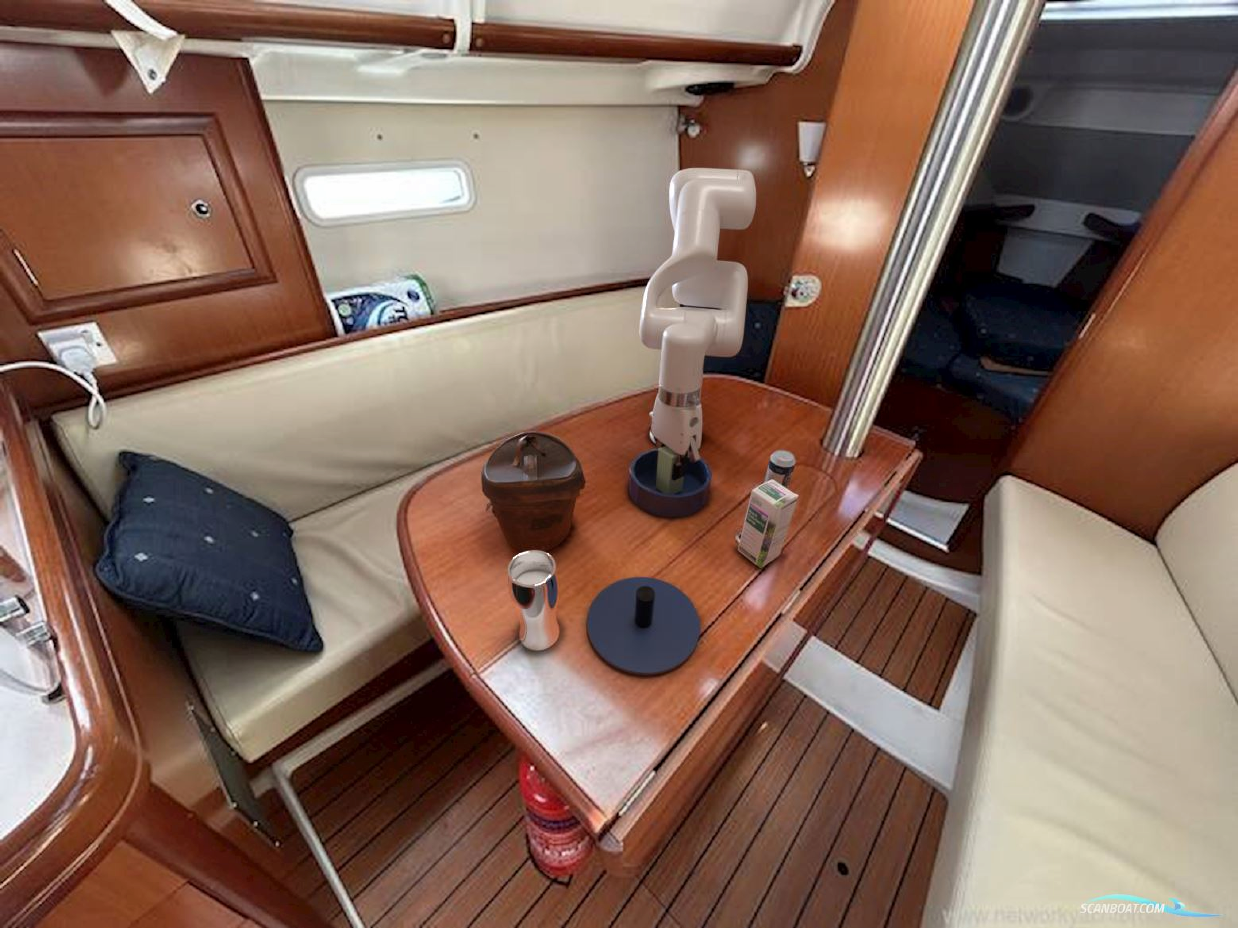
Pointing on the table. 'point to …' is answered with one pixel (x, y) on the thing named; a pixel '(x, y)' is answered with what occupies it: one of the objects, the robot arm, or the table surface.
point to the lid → (643, 625)
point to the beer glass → (535, 597)
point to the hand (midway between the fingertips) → (670, 471)
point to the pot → (668, 504)
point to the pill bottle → (781, 467)
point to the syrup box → (766, 522)
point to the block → (667, 472)
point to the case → (533, 489)
